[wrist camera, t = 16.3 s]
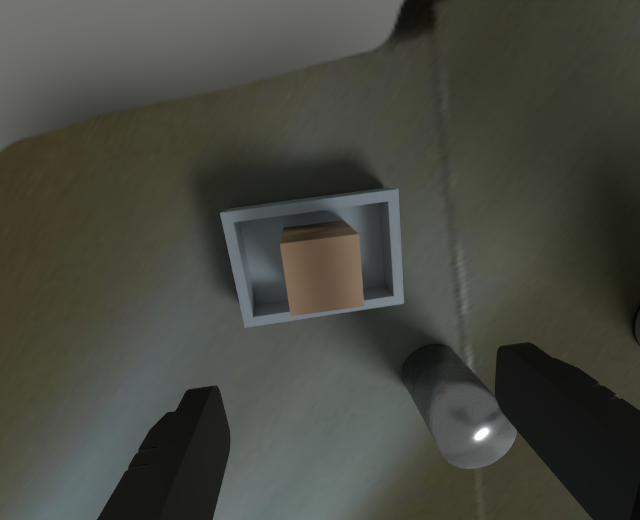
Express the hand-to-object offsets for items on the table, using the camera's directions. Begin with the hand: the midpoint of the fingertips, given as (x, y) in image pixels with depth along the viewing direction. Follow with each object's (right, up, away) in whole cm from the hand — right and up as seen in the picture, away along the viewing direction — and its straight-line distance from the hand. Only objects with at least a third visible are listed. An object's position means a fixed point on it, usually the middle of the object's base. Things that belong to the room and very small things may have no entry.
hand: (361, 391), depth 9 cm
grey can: (+10, -7, +22) cm, 25 cm away
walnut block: (-1, +4, +17) cm, 17 cm away
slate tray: (-2, +4, +17) cm, 18 cm away
